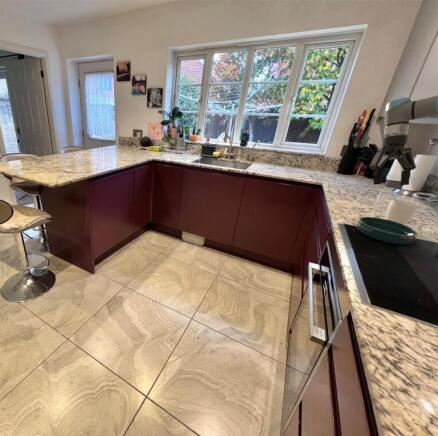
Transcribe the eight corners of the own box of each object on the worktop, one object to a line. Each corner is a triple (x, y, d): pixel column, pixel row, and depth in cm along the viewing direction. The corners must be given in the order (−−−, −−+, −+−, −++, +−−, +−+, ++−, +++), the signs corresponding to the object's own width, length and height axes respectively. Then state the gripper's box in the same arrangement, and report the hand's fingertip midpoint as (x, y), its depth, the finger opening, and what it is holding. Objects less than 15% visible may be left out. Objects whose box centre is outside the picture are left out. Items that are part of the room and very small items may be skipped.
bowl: (418, 239, 98) (424, 230, 96) (401, 249, 90) (407, 239, 88) (365, 222, 112) (370, 214, 110) (347, 229, 104) (351, 220, 102)
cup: (410, 231, 105) (424, 206, 100) (385, 227, 108) (398, 203, 103) (398, 223, 113) (411, 200, 108) (376, 219, 116) (387, 197, 111)
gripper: (410, 139, 107) (405, 185, 108) (360, 137, 105) (357, 184, 106) (431, 135, 99) (426, 184, 101) (378, 132, 97) (374, 183, 99)
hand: (391, 184), depth 104 cm, fingers open, 13 cm apart
